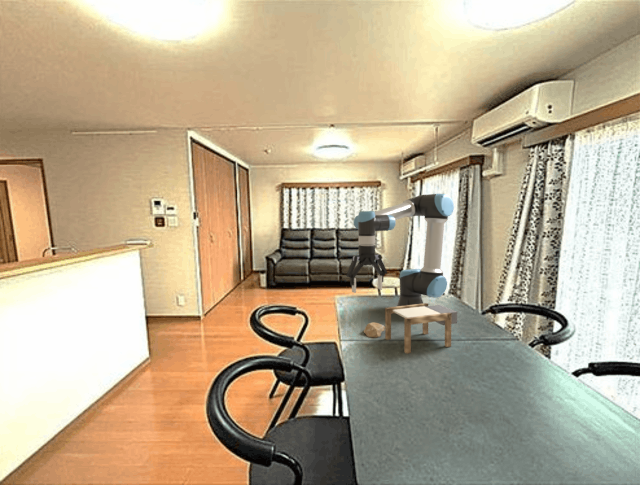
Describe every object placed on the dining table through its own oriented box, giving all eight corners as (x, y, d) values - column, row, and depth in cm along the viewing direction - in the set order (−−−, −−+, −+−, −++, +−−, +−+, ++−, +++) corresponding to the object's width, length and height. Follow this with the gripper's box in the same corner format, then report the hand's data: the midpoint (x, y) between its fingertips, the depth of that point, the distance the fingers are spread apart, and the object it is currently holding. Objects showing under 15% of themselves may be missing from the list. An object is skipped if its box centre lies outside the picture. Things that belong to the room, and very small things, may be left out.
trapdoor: (438, 314, 163) (438, 304, 162) (458, 324, 150) (458, 312, 149) (392, 320, 156) (392, 309, 155) (409, 330, 143) (409, 318, 142)
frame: (426, 332, 164) (426, 303, 163) (451, 346, 147) (451, 313, 146) (385, 338, 158) (385, 307, 156) (406, 353, 141) (406, 319, 140)
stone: (386, 332, 167) (386, 322, 167) (377, 339, 158) (377, 329, 158) (370, 329, 172) (370, 319, 171) (360, 335, 163) (360, 326, 162)
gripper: (385, 242, 171) (385, 286, 173) (338, 245, 162) (339, 291, 164) (394, 244, 164) (394, 289, 166) (345, 247, 155) (346, 295, 157)
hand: (367, 290), depth 165 cm, fingers open, 13 cm apart
